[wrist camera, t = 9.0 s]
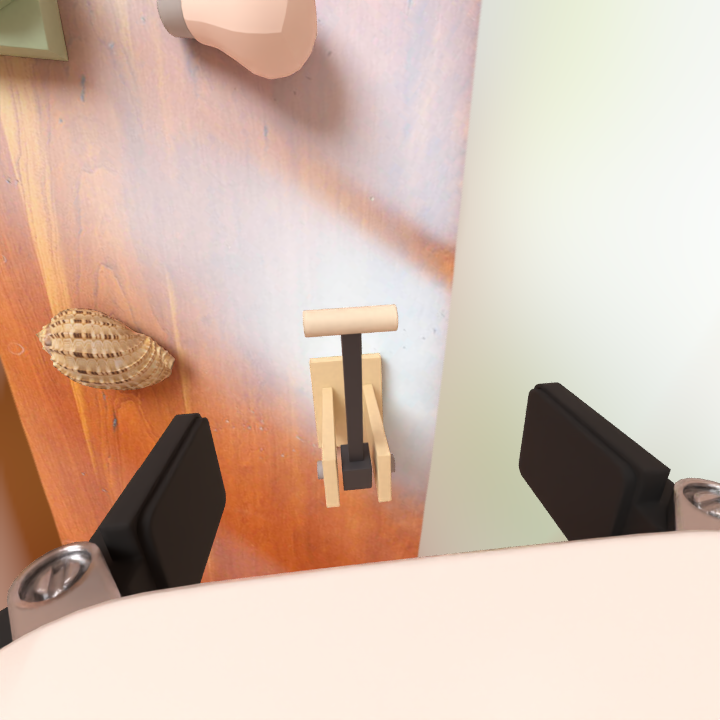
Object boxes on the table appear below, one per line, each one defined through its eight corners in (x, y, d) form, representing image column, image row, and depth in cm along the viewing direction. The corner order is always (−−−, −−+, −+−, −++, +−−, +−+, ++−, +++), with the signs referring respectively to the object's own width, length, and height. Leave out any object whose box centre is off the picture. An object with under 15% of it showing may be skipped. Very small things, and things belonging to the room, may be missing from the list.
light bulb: (121, 31, 23) (292, 44, 22) (126, -97, 22) (307, -92, 21) (186, 89, 30) (321, 102, 28) (193, -8, 29) (334, 1, 27)
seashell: (166, 300, 37) (33, 302, 32) (173, 318, 33) (20, 324, 27) (171, 372, 40) (51, 384, 35) (179, 398, 35) (41, 416, 30)
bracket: (309, 358, 38) (303, 429, 26) (379, 352, 38) (404, 420, 27) (318, 442, 42) (317, 536, 30) (381, 436, 42) (404, 527, 30)
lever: (303, 300, 21) (302, 326, 19) (392, 294, 21) (400, 319, 19) (325, 466, 32) (326, 492, 30) (384, 460, 32) (389, 486, 30)
